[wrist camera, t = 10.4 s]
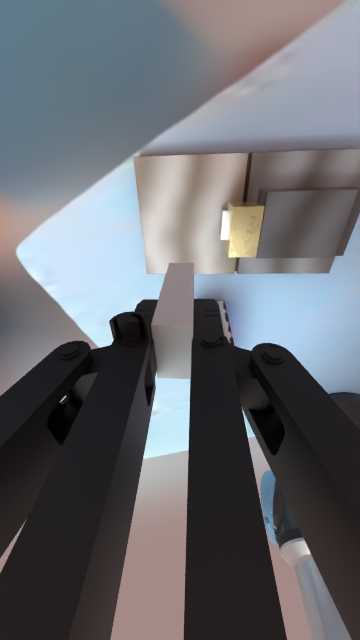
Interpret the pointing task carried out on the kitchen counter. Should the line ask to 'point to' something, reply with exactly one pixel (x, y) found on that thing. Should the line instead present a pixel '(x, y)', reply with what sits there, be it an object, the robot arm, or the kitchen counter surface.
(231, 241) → the bolt
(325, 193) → the door mockup
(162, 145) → the kitchen counter surface
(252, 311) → the kitchen counter surface
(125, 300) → the kitchen counter surface
